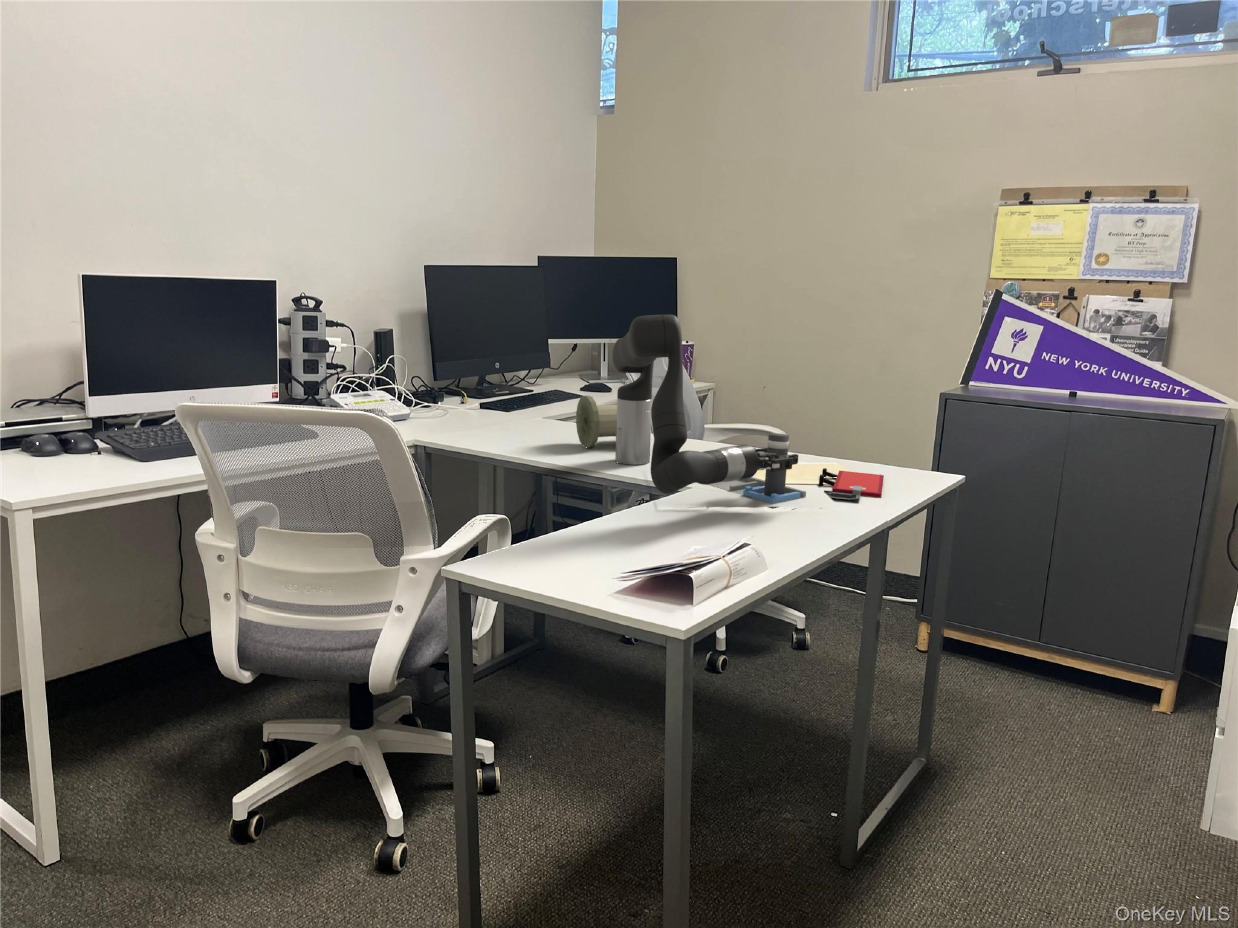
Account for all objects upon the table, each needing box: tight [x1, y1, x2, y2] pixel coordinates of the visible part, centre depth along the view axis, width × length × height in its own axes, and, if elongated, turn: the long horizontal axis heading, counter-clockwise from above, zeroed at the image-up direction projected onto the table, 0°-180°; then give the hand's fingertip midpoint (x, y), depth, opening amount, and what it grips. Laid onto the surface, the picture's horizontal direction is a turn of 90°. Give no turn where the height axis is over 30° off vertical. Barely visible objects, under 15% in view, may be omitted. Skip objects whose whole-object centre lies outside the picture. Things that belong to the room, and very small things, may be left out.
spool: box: [575, 394, 617, 449], centre depth 261 cm, size 16×15×15 cm
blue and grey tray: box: [706, 476, 807, 510], centre depth 208 cm, size 22×11×3 cm, turn 38°
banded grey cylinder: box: [764, 432, 790, 497], centre depth 202 cm, size 5×5×14 cm
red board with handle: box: [818, 467, 885, 501], centre depth 218 cm, size 30×3×15 cm
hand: (782, 455), depth 203 cm, fingers open, 8 cm apart
